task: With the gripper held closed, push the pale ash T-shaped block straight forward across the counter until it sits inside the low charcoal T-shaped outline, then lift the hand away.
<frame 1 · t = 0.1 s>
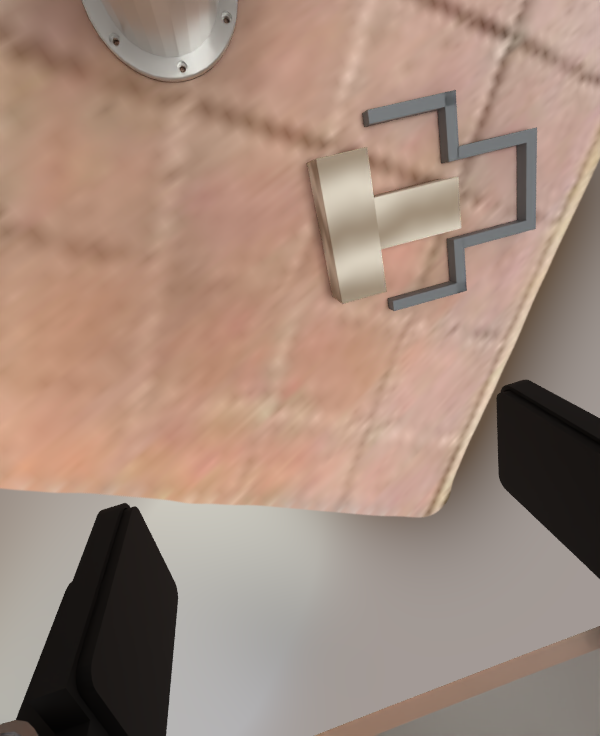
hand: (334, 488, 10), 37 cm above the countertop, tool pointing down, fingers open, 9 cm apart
dock: (452, 200, 45), on the countertop
t block: (342, 228, 44), on the countertop
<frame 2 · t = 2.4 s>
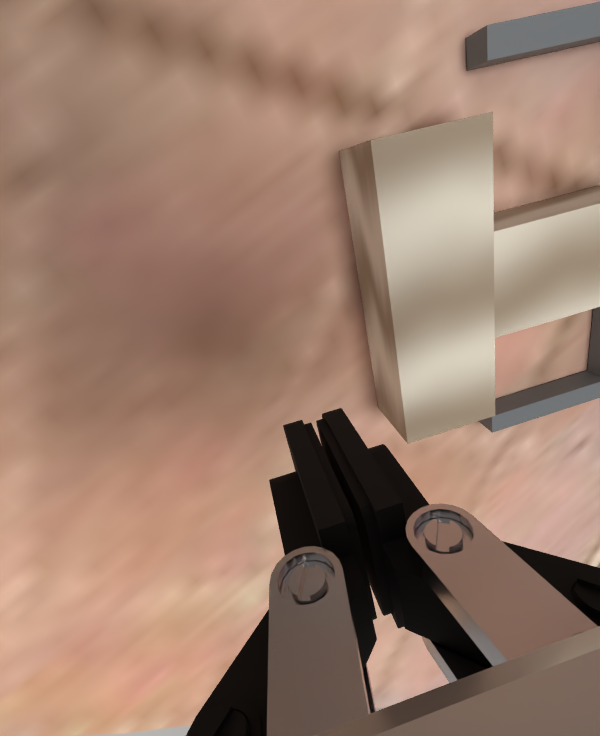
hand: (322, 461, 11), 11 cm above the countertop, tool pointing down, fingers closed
t block: (404, 284, 22), on the countertop
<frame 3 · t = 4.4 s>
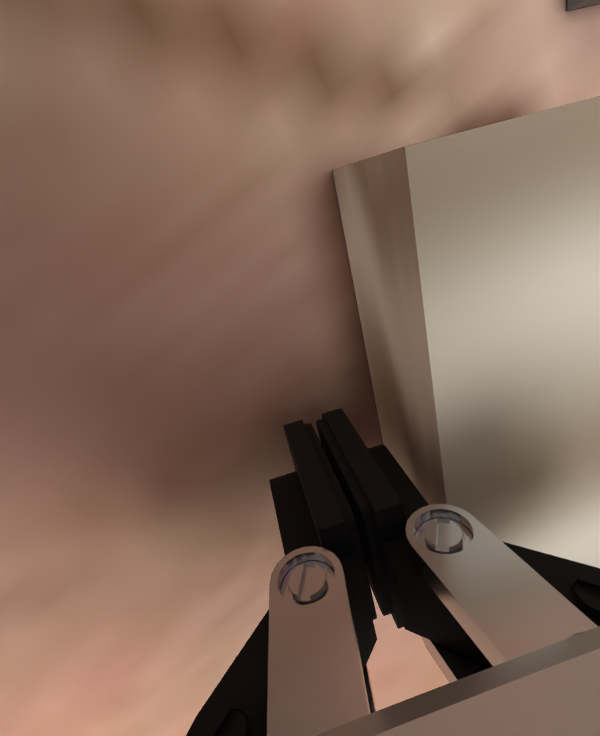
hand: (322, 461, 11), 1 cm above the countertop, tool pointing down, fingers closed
t block: (452, 391, 13), on the countertop, touching gripper
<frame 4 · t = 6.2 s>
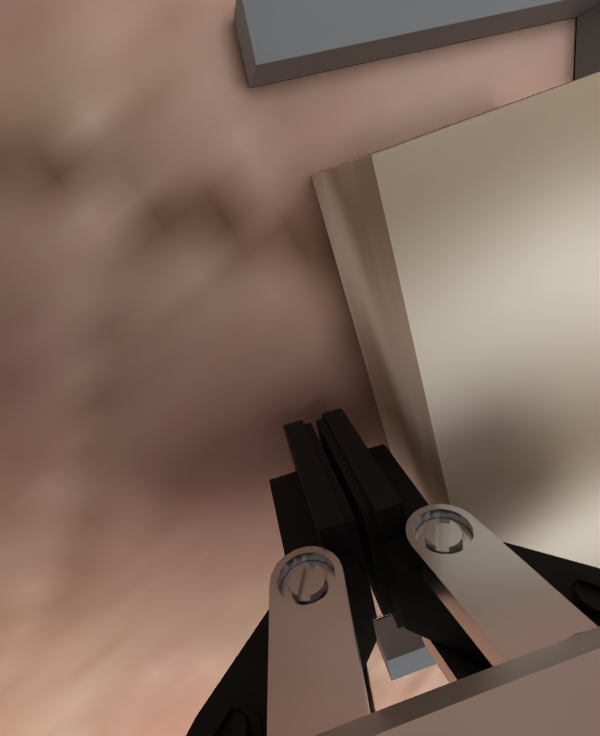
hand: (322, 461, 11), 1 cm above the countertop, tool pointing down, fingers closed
dock: (589, 351, 13), on the countertop
t block: (452, 384, 13), on the countertop, touching gripper
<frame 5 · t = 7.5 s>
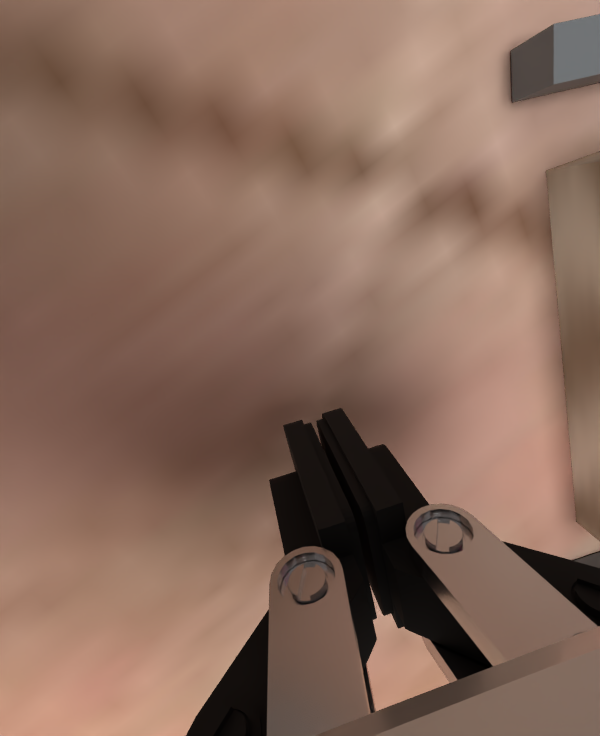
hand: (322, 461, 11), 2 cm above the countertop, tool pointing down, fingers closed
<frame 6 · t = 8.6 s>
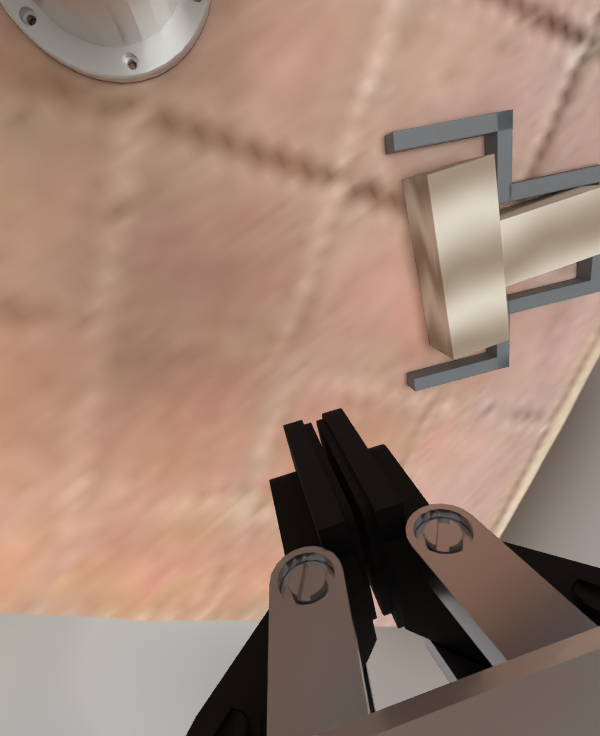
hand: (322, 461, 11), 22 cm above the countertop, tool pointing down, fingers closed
dock: (496, 251, 34), on the countertop
t block: (444, 259, 34), on the countertop
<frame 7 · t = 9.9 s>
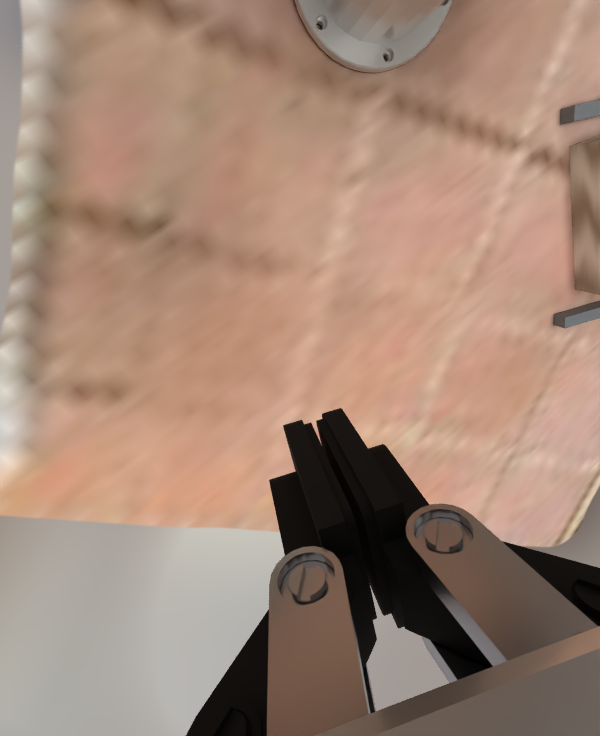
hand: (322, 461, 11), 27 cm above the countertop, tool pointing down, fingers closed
t block: (594, 214, 40), on the countertop
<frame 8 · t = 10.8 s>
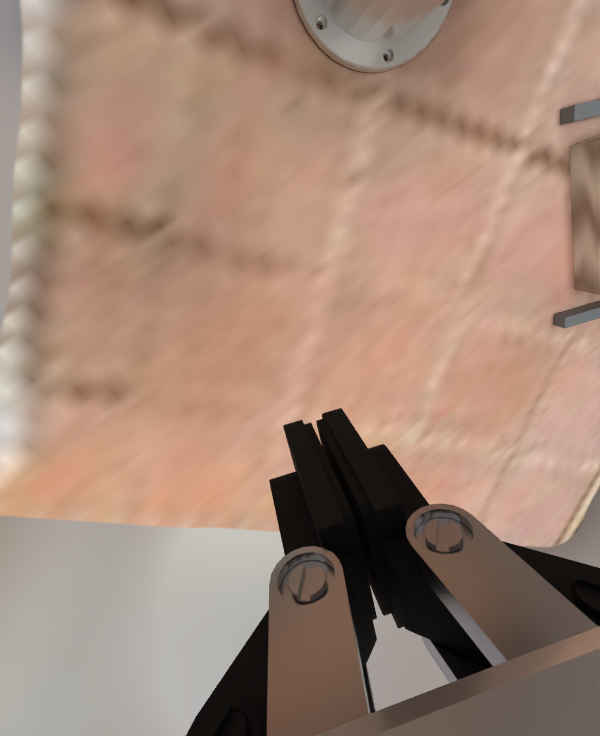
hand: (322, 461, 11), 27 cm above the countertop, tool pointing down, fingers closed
t block: (594, 214, 40), on the countertop
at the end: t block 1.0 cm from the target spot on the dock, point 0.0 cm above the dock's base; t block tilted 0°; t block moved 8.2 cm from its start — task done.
